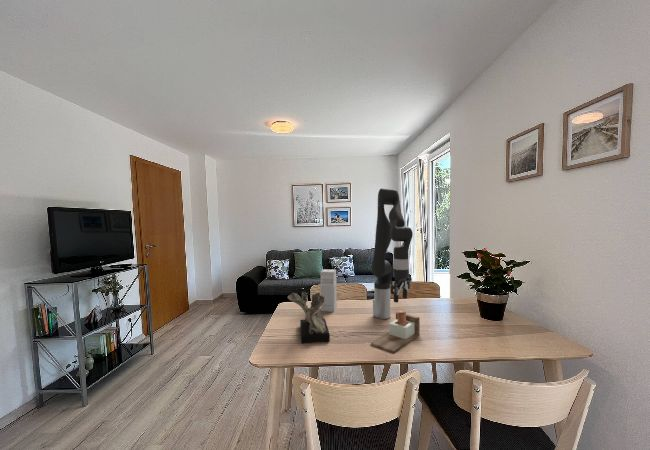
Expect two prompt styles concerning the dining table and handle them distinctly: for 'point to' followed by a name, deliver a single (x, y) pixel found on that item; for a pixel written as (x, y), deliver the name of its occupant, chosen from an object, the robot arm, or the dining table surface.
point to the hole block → (401, 329)
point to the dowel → (402, 318)
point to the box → (328, 290)
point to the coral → (311, 319)
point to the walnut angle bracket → (394, 342)
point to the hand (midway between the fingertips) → (400, 300)
